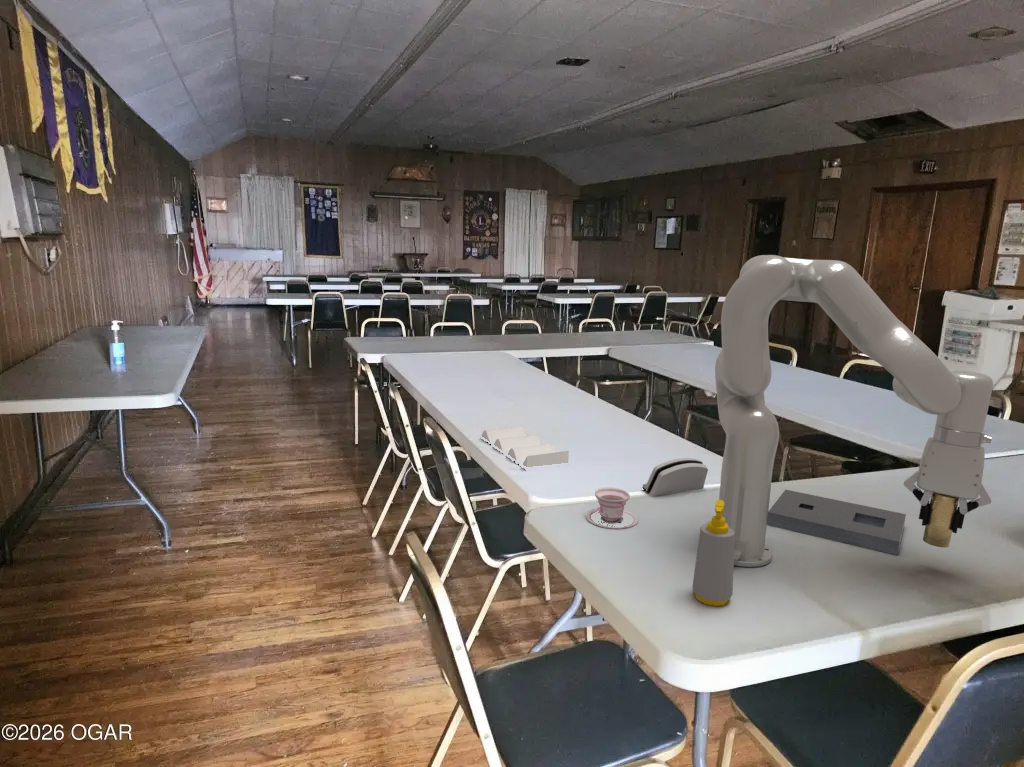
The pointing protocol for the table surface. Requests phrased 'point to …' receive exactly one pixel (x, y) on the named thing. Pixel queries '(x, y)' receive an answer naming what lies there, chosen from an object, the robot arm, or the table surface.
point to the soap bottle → (715, 561)
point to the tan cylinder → (940, 520)
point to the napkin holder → (676, 476)
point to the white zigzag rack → (525, 447)
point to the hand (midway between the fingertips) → (939, 526)
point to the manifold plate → (838, 521)
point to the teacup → (611, 506)
